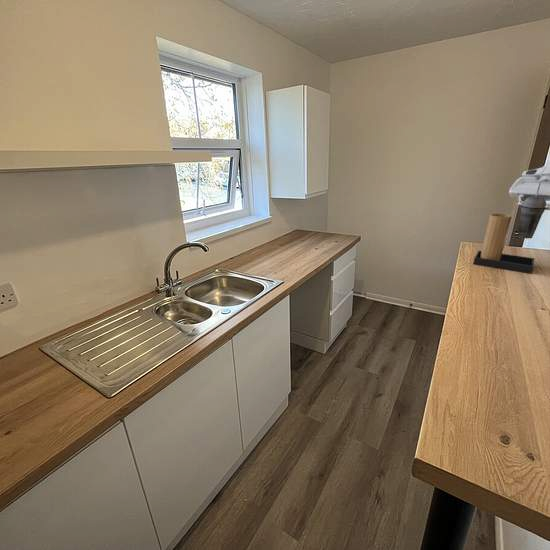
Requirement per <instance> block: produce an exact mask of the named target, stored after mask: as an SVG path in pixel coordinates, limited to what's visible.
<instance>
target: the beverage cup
mask: <svg viewBox="0 0 550 550" xmlns="http://www.w3.org/2000/svg"><path fill="white" fill-rule="evenodd" d="M540 185H541V183H539V185H538V189H537V192H536V196H531V197H529V198H527V199H524V200H523V201H524V202H523V204H522V206H521V207H520V218H519V224H518V230H517V237H518V238H520V239H533V238H534V237H533V236H534V235H535V233H536V230H537V229H538V226H539V224H540V221H541V219H542V216H543V214H544V212H545V211H546V210H545V208H544V207H545V206H546V204H547V201H545V199H544V198H543V197H541V196H537V195H538V192H539V188H540Z"/></svg>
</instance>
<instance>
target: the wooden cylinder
mask: <svg viewBox="0 0 550 550" xmlns="http://www.w3.org/2000/svg"><path fill="white" fill-rule="evenodd" d="M512 218H513V215H511V214H506V213H490V214H489V218H488V222H487V226H486V231H485V234H484V239H483V243H482V248H481V250H480V251H481V255H480V258H483V259H490V260H497V261H500V260H501V256H502V254H503V252H504V249H505V246H506V245H505V244H506V241H507V237H508V234H509V230H510V226H511V222H512Z"/></svg>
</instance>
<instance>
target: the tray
mask: <svg viewBox="0 0 550 550" xmlns="http://www.w3.org/2000/svg"><path fill="white" fill-rule="evenodd" d="M481 251H482V250H478V251H477V252H476V255H475V256H474V259H473V265H475V264H476V265H475V266H481V265H482V266H481V267H487V268H493V269H500V270H505V271H511V272H512V271H513V272H518V273H525V274H530V275H531V274H532V273H533V269H534V267H535V266H534V265H535V258H534V257H528V256H521V255H514V254H507V253H502V256H501V260H500V261H497V260H490V259H483V258H480V255H481Z"/></svg>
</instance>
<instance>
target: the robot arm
mask: <svg viewBox="0 0 550 550" xmlns="http://www.w3.org/2000/svg"><path fill="white" fill-rule="evenodd" d="M539 183H541V185H540V188H539V192H538V195H537V196H541V197H543V198H544V199H545V201H546V206H545V207H544V208H545V211H550V203H548V202H550V156H549V157H548V158H547V160H546V163H545V164H544V165H543V166H542V167H539V168H533V169H528V170H525V171H523V172H522V174H521V177H519V178H517V179H516V180H515V181H514V183H513V184H512V185H511V187H510V188H509V189H508V195H509V196H510V198H511V199H512V198H513V199H518V202H517V204H516V207H518V208H521V206H522V204H523V202H524V201H525V200H526V199H527V198H529V197H531V196H536V192H537V189H538V185H539ZM547 201H548V202H547Z"/></svg>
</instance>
